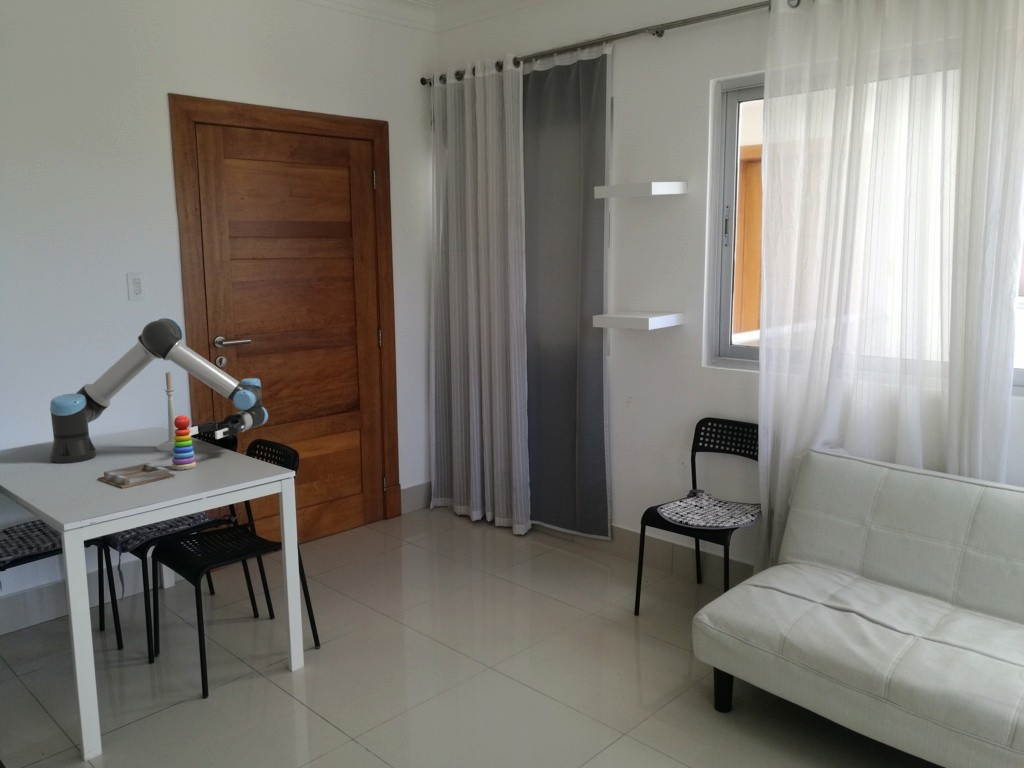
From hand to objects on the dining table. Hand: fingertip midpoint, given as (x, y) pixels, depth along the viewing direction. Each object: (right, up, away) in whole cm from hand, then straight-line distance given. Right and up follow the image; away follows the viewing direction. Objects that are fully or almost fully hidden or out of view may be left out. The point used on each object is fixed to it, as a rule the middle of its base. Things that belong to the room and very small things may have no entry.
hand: (200, 434), depth 302 cm
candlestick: (-19, -7, +24) cm, 32 cm away
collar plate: (-14, -13, -20) cm, 28 cm away
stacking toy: (-3, -11, -7) cm, 14 cm away
